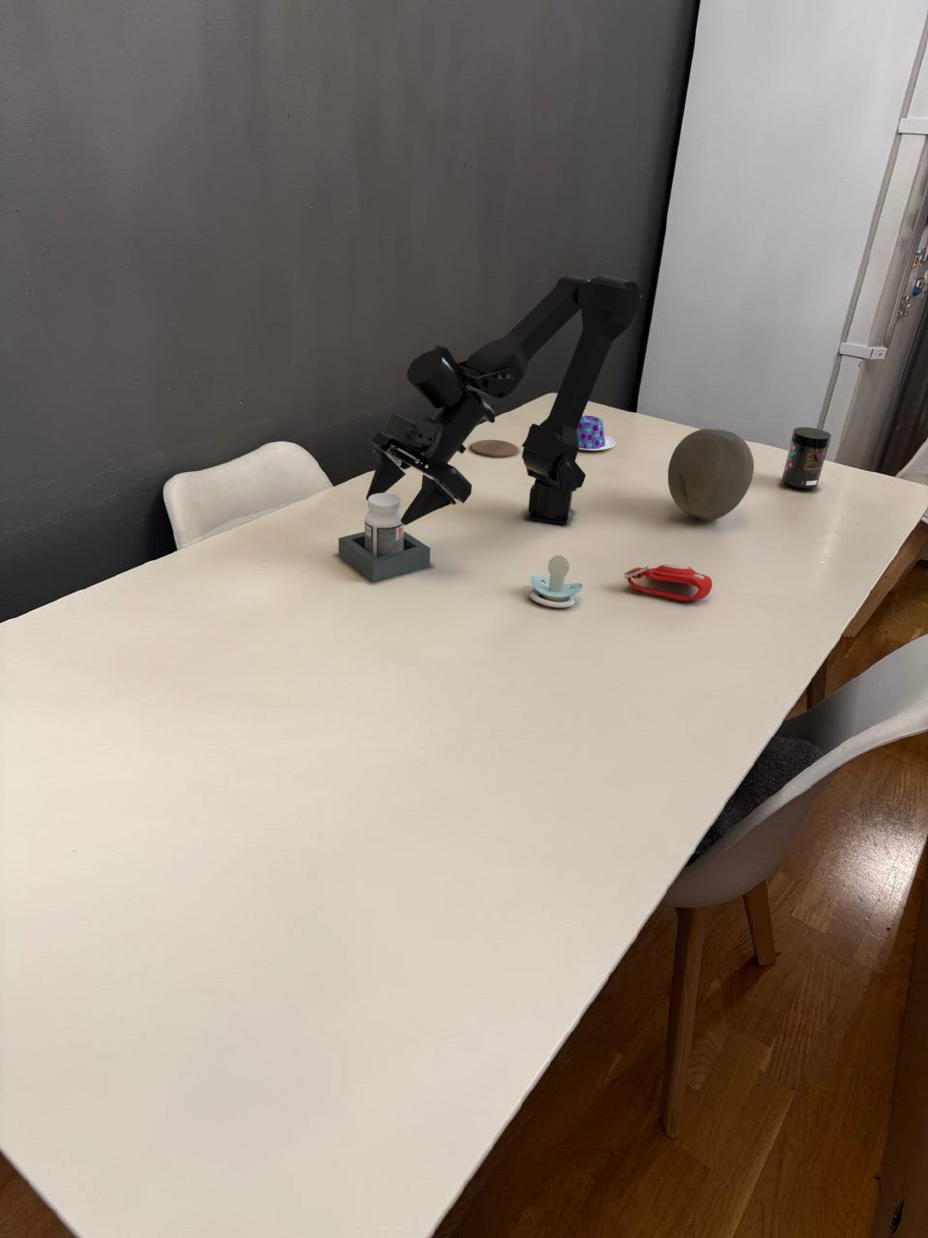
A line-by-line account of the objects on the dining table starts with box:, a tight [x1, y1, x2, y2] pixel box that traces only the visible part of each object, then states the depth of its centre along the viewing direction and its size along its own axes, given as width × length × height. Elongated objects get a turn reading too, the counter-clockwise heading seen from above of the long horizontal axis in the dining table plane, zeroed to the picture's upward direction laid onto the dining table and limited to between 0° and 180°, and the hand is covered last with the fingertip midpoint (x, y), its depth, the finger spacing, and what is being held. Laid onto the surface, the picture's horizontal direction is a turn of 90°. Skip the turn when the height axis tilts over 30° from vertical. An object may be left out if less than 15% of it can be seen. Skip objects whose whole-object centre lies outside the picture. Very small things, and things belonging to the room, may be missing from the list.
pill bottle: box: [364, 492, 405, 558], centre depth 129 cm, size 6×6×10 cm
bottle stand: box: [337, 530, 431, 583], centre depth 131 cm, size 10×10×3 cm
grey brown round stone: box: [667, 428, 755, 522], centre depth 150 cm, size 14×14×15 cm
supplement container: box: [781, 426, 832, 492], centre depth 166 cm, size 7×7×10 cm
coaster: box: [471, 439, 518, 458], centre depth 177 cm, size 9×9×1 cm
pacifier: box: [529, 554, 583, 608], centre depth 123 cm, size 7×6×6 cm
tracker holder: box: [623, 564, 713, 602], centre depth 127 cm, size 12×4×10 cm
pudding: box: [577, 414, 616, 451], centre depth 182 cm, size 12×12×5 cm
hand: (385, 511), depth 127 cm, fingers open, 9 cm apart
